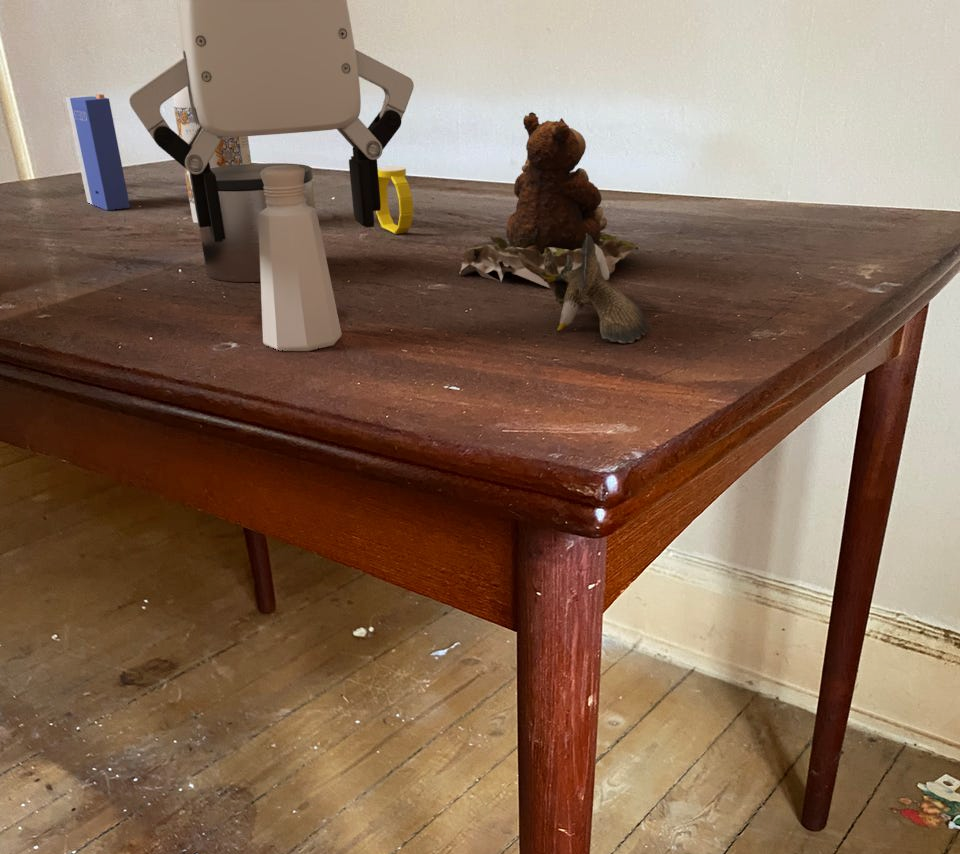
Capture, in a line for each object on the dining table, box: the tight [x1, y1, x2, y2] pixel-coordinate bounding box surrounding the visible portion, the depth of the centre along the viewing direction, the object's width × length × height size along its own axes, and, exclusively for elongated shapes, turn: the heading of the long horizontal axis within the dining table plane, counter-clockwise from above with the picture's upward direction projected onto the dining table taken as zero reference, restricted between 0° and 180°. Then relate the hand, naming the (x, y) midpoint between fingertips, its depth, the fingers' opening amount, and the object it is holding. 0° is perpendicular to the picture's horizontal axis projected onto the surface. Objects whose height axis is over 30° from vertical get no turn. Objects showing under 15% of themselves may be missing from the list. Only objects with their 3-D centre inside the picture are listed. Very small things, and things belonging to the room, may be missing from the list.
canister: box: [190, 162, 316, 283], centre depth 90 cm, size 10×10×8 cm
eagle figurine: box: [518, 233, 649, 345], centre depth 71 cm, size 8×7×9 cm
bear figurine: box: [458, 112, 639, 289], centre depth 86 cm, size 14×15×12 cm
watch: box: [375, 165, 414, 235], centre depth 104 cm, size 6×3×6 cm, turn 31°
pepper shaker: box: [259, 165, 343, 352], centre depth 69 cm, size 5×5×11 cm
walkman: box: [65, 93, 131, 211], centre depth 123 cm, size 8×3×12 cm, turn 35°
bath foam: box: [172, 86, 252, 224], centre depth 107 cm, size 7×7×20 cm
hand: (292, 231), depth 68 cm, fingers open, 9 cm apart
